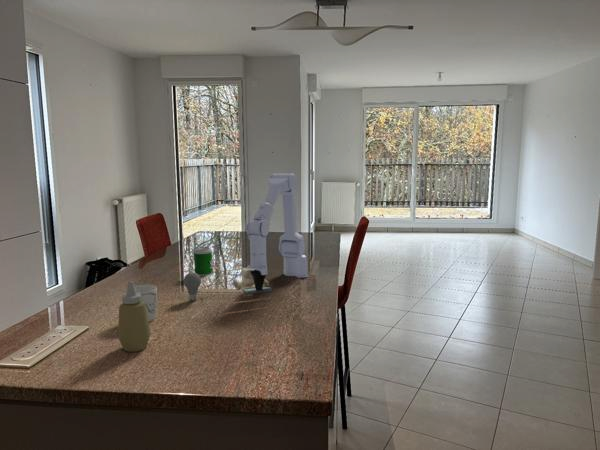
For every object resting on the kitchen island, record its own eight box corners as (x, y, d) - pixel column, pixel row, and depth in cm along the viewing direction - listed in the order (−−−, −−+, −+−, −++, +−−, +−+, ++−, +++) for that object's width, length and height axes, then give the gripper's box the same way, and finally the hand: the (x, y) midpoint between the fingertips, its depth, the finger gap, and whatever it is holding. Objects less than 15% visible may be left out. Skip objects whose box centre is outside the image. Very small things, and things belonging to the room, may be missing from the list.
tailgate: (266, 286, 167) (271, 288, 162) (267, 289, 167) (271, 290, 162) (242, 289, 164) (246, 291, 158) (242, 292, 164) (246, 294, 158)
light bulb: (205, 298, 158) (203, 271, 156) (196, 303, 152) (194, 275, 150) (190, 296, 159) (189, 269, 158) (181, 302, 154) (179, 274, 152)
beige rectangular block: (253, 280, 175) (253, 266, 175) (256, 283, 171) (256, 269, 171) (242, 281, 174) (241, 268, 173) (245, 284, 170) (244, 270, 169)
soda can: (208, 278, 183) (207, 250, 181) (191, 278, 185) (190, 249, 183) (215, 274, 190) (214, 246, 189) (199, 273, 192) (198, 246, 190)
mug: (133, 330, 129) (131, 297, 128) (115, 324, 134) (113, 292, 132) (164, 317, 139) (162, 287, 137) (146, 313, 143) (144, 283, 142)
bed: (261, 281, 178) (261, 275, 177) (268, 288, 169) (268, 282, 168) (233, 285, 173) (233, 279, 173) (239, 292, 165) (238, 285, 164)
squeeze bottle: (124, 342, 121) (119, 278, 118) (154, 340, 121) (150, 277, 119) (114, 355, 113) (109, 286, 110) (147, 353, 114) (142, 285, 111)
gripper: (242, 250, 163) (243, 286, 165) (253, 257, 150) (253, 296, 152) (260, 249, 166) (261, 284, 168) (272, 256, 152) (273, 294, 154)
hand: (258, 290), depth 160 cm, fingers closed, pressing on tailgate
